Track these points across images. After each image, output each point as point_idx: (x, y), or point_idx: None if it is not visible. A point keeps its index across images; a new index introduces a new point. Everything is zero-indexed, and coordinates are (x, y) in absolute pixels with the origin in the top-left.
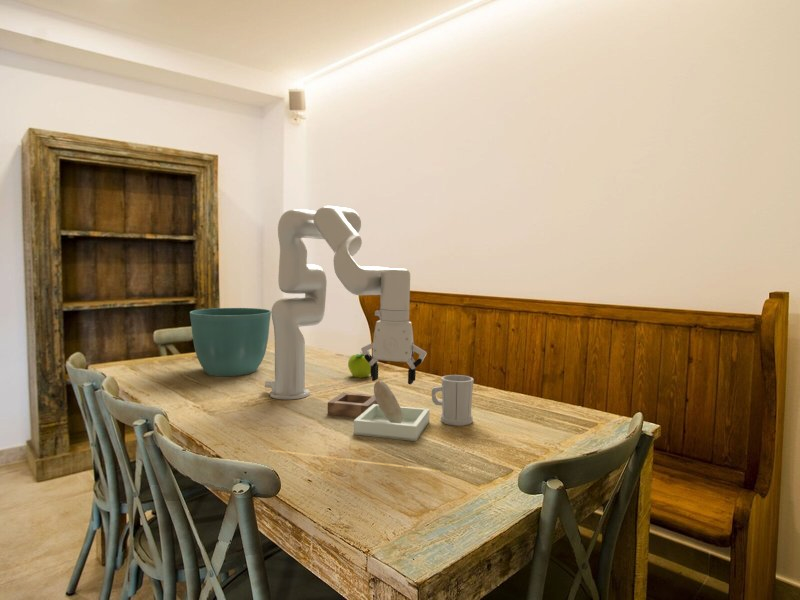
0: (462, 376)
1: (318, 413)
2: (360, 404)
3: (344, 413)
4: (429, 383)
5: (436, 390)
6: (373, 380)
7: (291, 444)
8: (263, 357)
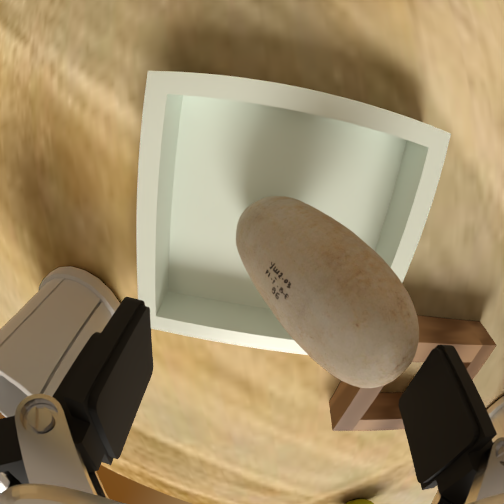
0: None
1: (496, 324)
2: None
3: (445, 323)
4: (221, 496)
5: None
6: (444, 345)
7: None
8: None
